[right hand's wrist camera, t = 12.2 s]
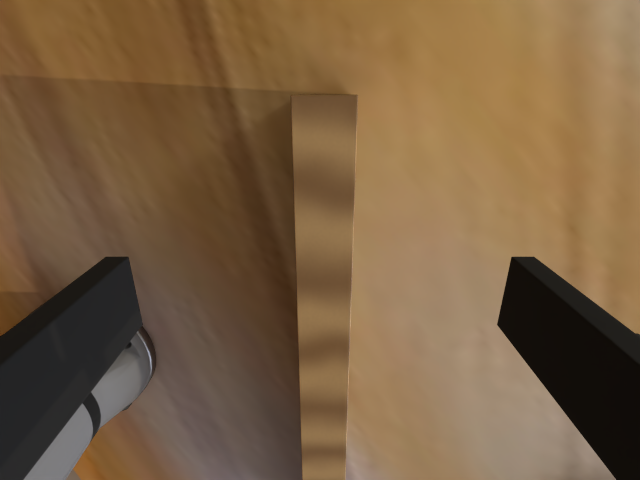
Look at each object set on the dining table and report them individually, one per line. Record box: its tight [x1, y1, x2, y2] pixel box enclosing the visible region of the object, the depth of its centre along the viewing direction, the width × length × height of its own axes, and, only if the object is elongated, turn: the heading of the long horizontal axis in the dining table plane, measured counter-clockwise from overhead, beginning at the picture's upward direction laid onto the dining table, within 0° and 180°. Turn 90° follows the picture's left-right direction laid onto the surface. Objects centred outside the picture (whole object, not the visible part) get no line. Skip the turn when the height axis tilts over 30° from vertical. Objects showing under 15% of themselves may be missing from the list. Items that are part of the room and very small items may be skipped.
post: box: [291, 95, 358, 480], centre depth 40 cm, size 56×5×8 cm, turn 0°
